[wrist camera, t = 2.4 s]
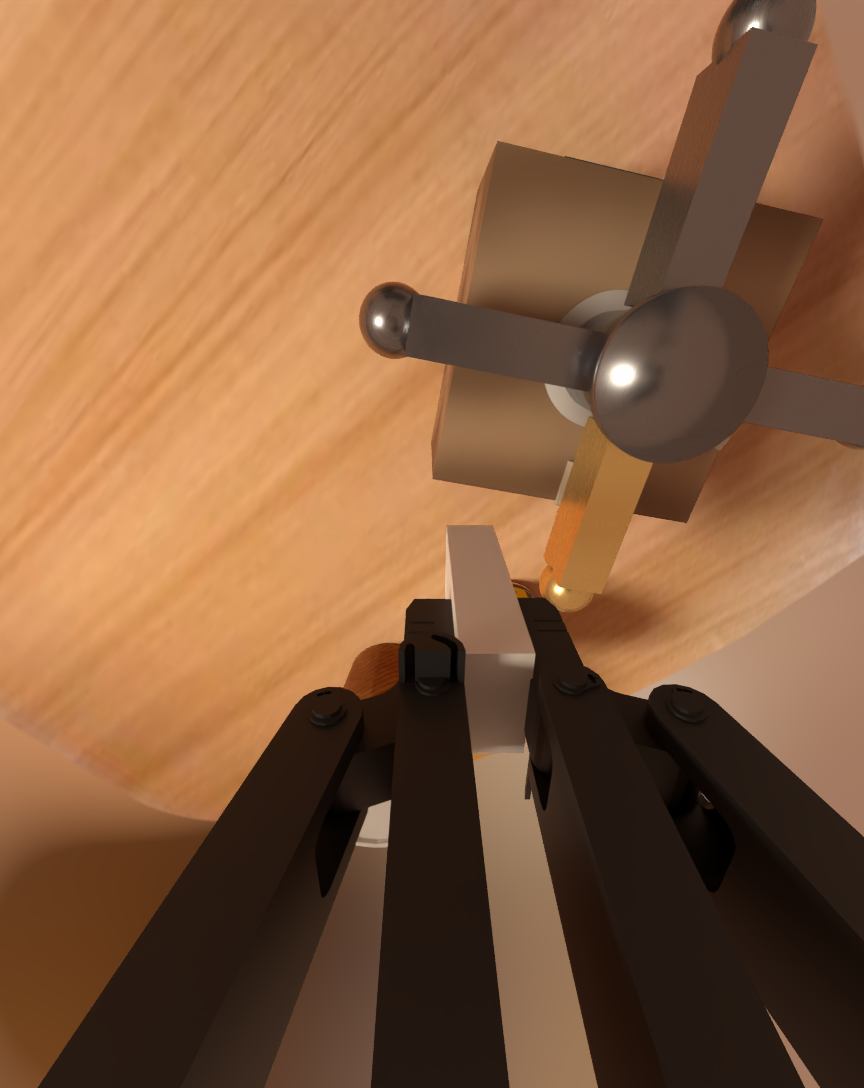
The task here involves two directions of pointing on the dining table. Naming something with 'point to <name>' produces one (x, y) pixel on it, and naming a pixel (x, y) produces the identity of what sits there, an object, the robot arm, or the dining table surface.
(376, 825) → the disposable coffee cup
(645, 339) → the capstan
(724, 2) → the dining table surface
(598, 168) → the stand
